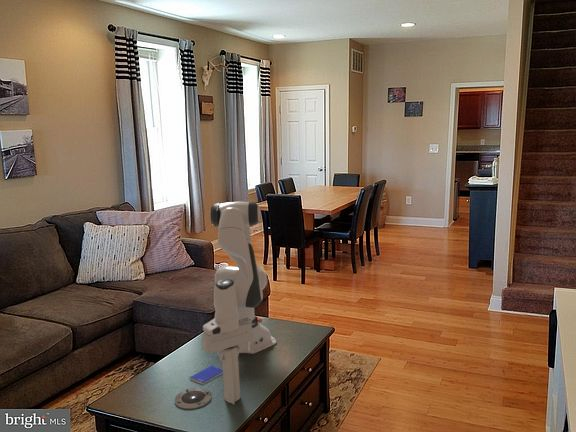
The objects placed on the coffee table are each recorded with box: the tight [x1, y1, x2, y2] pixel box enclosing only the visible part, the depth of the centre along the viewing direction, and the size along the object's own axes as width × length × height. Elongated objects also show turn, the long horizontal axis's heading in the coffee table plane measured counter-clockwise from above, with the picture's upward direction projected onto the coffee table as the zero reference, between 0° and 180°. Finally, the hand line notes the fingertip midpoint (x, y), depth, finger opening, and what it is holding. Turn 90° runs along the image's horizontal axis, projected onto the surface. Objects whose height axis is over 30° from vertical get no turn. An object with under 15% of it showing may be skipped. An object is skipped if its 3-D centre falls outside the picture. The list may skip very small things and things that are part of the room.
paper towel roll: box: [221, 346, 241, 406], centre depth 191 cm, size 7×6×21 cm
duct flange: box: [174, 387, 213, 410], centre depth 194 cm, size 14×14×1 cm
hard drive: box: [188, 365, 223, 386], centre depth 212 cm, size 2×8×12 cm
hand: (229, 357), depth 190 cm, fingers open, 5 cm apart
